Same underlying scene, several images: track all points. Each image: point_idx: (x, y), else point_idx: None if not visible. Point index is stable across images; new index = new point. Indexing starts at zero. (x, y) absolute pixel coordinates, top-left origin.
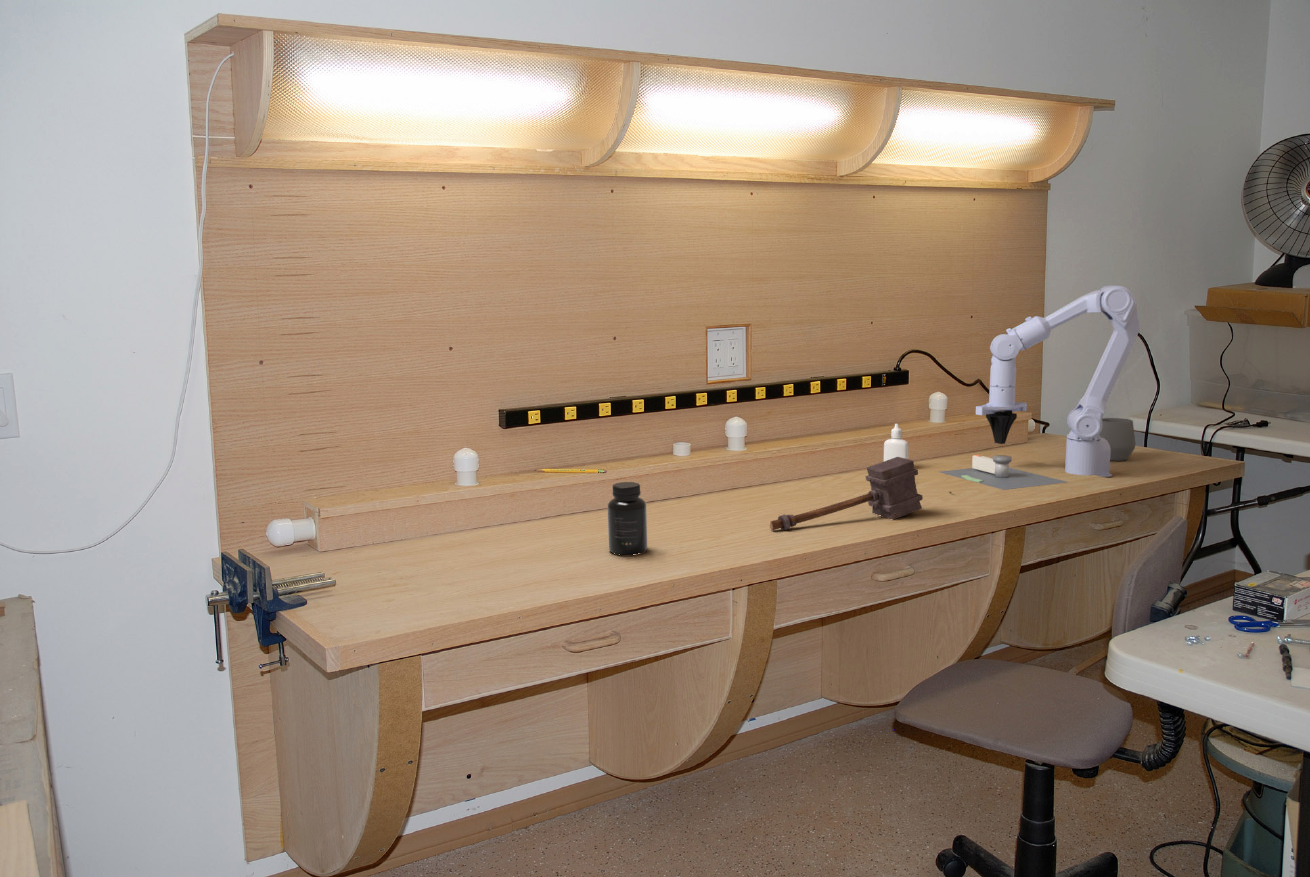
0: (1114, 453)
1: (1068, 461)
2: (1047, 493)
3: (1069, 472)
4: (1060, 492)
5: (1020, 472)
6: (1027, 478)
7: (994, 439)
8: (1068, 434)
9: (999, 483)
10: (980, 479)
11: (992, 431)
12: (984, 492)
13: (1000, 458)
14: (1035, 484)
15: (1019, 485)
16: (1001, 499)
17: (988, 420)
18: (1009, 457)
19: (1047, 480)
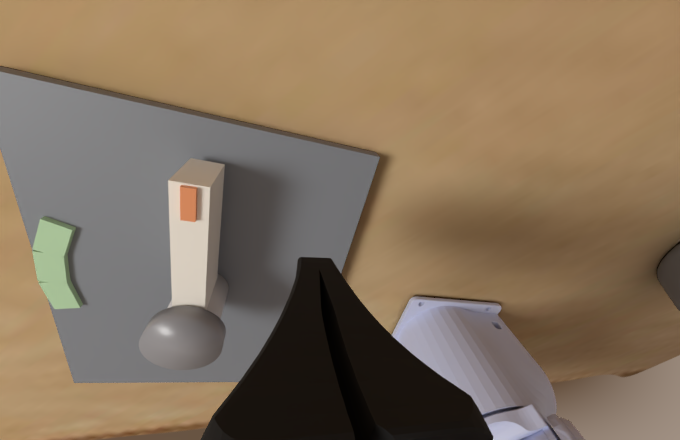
0: (669, 289)
1: (417, 357)
2: (202, 391)
3: (403, 335)
4: None
5: None
6: (255, 329)
7: (297, 270)
8: (500, 424)
9: (119, 337)
10: (95, 281)
11: (286, 302)
12: (36, 340)
13: (149, 360)
14: (211, 373)
15: (159, 368)
16: (35, 394)
17: (239, 385)
18: (200, 362)
19: None
